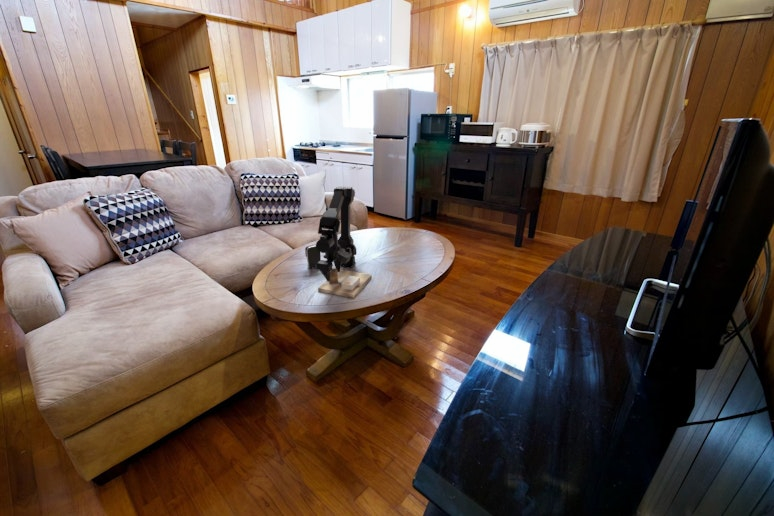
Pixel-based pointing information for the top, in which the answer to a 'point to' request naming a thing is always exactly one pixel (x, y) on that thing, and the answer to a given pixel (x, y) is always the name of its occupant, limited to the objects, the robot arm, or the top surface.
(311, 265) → the battery charger
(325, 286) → the plank
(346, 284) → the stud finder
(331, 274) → the brown knobbed cylinder
